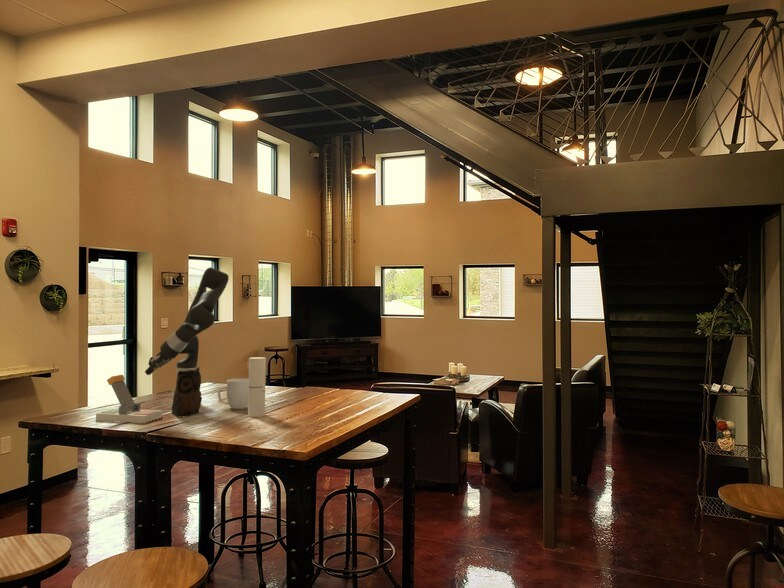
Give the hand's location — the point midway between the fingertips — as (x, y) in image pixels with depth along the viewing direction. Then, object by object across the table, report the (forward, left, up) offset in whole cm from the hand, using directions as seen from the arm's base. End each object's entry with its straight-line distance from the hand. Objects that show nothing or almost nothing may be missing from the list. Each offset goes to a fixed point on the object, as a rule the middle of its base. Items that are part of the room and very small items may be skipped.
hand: (147, 373), depth 226 cm
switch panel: (+6, -5, -19) cm, 21 cm away
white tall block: (-44, +6, -19) cm, 48 cm away
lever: (+6, -4, -16) cm, 17 cm away
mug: (-39, -15, -19) cm, 46 cm away
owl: (-16, -10, -19) cm, 27 cm away
